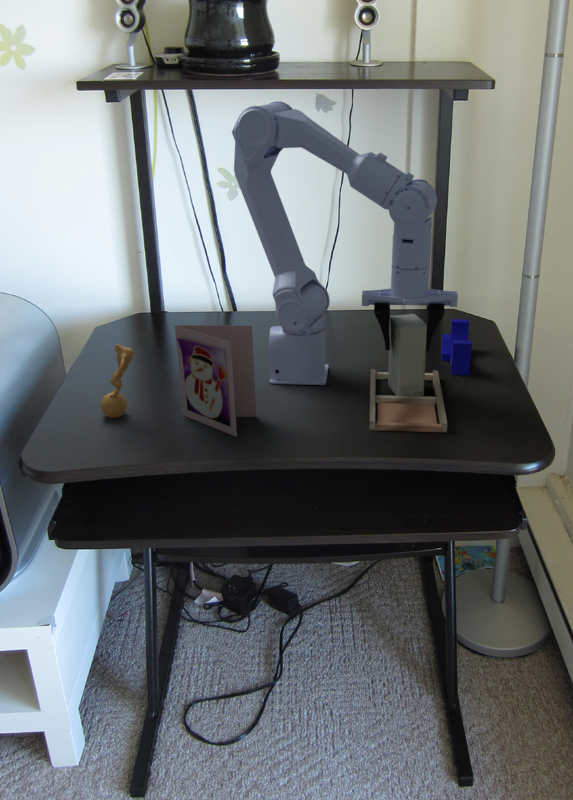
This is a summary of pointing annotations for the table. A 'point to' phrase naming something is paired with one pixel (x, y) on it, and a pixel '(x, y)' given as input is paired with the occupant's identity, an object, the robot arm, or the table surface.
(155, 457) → the table surface
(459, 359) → the cable clip
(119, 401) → the figurine
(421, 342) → the skincare box
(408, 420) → the pink framed panel
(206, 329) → the greeting card
